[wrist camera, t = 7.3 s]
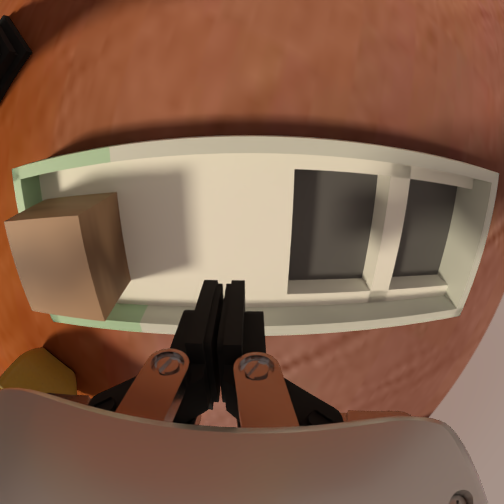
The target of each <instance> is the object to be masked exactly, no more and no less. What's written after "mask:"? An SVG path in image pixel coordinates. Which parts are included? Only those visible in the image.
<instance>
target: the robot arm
mask: <svg viewBox="0 0 504 504" xmlns="http://www.w3.org/2000/svg"><path fill="white" fill-rule="evenodd" d="M220 386H221V392H222V400H223V402H226V410H227V411H228V412H229V413H230V414H232V415H233V416H234V417H235V418H236V419H237V427H238V428H236V427H215V426H201V425H199V424H200V421H201V414H202V413H204V412H205V411H207V410H208V409H211V410H213V403H214V402H219V395H220ZM0 504H488V501H487V498H486V495H485V492H484V489H483V486H482V483H481V480H480V478H479V475H478V473H477V471H476V469H475V466H474V464H473V462H472V460H471V457H470V455H469V453H468V451H467V450H466V448H465V446H464V444H463V443H462V441H461V440H460V438H459V437H458V435H457V434H456V433H455V432H454V430H453V429H452V428H451V427H450V426H448V425H447V424H446V423H444V422H441V421H439V420H436V419H432V418H427V417H416V416H411V415H410V414H408V413H406V412H402V411H354V410H348V412H347V413H340V412H339V411H338V410H336V409H335V408H334V407H332V406H330V405H329V404H327V403H325V402H323V401H322V400H320V399H318V398H316V397H315V396H313V395H311V394H310V393H308V392H306V391H305V390H303V389H301V388H300V387H298V386H296V385H295V384H293V383H292V382H290V381H288V380H287V379H285V378H284V377H283V374H282V371H281V368H280V365H279V363H278V361H277V360H276V359H275V358H274V357H273V356H271V355H269V354H267V353H266V345H265V328H264V312H263V311H245V280H232V281H231V284H226V289H225V295H223V284H221V283H218V280H204V282H203V285H202V288H201V291H200V294H199V297H198V301H197V304H196V307H195V310H184V311H183V314H182V316H181V319H180V322H179V325H178V327H177V330H176V333H175V336H174V339H173V341H172V344H171V347H170V348H168V349H162V350H159V351H156V352H155V353H153V354H152V355H151V356H150V357H149V358H148V359H147V361H146V362H145V364H144V366H143V367H142V369H141V370H140V372H139V374H138V375H137V376H136V377H134V378H132V379H130V380H128V381H125V382H123V383H121V384H119V385H117V386H115V387H112V388H110V389H108V390H106V391H104V392H101V393H99V394H97V395H96V396H94V397H93V398H92V399H90V397H89V396H87V395H70V394H57V393H43V392H39V391H35V390H30V389H22V388H5V389H1V390H0Z"/></svg>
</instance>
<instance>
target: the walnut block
mask: <svg viewBox="0 0 504 504" xmlns="http://www.w3.org/2000/svg"><path fill="white" fill-rule="evenodd" d="M4 224H5V228H6V232H7V237H8V240H9V244H10V248H11V252H12V255H13V258H14V262H15V265H16V268H17V271H18V274H19V277H20V280H21V283H22V286H23V288H24V291H25V294H26V296H27V299H28V301H29V304H30V306H31V309H32V311H36V312H42V313H48V314H54V315H60V316H67V317H73V318H81V319H88V320H96V321H106V319H107V317H108V316H109V314H110V312H111V311H112V309H113V308H114V306H115V304H116V303H117V301H118V300H119V298H120V296H121V295H122V293H123V292H124V290H125V289H126V287H127V286H128V284H129V283H130V281H131V278H130V273H129V268H128V263H127V257H126V252H125V246H124V240H123V234H122V228H121V221H120V213H119V205H118V197H117V192H110V193H98V194H87V195H77V196H68V197H59V198H51V199H45V200H43V201H41V202H39V203H37V204H35V205H34V206H32V207H30V208H28V209H26V210H24V211H22V212H20V213H19V214H17V215H15V216H13V217H11V218H10V219H8V220H6V221H5V222H4Z"/></svg>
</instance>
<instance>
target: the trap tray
mask: <svg viewBox="0 0 504 504" xmlns="http://www.w3.org/2000/svg"><path fill="white" fill-rule="evenodd" d="M12 175H13V183H14V189H15V196H16V202H17V207H18V212H19V213H20V212H22V211H24V210H26V209H28V208H30V207H32V206H34V205H35V204H37V203H39V202H41V201H43V200H45V199H51V198H59V197H68V196H77V195H87V194H98V193H110V192H117V197H118V205H119V213H120V221H121V228H122V234H123V240H124V246H125V252H126V257H127V263H128V268H129V273H130V278H131V281H130V283H129V284H128V286H127V287H126V289H125V290H124V292H123V293H122V295H121V296H120V298H119V300H118V301H117V303H116V304H115V306H114V308H113V309H112V311H111V312H110V314H109V316H108V317H107V319H106V321H96V320H88V319H81V318H73V317H67V316H60V315H54V314H50V315H51V318H52V320H53V321H54V322H60V323H66V324H73V325H80V326H88V327H96V328H104V329H113V330H123V331H134V332H146V333H160V334H175V333H176V330H177V327H178V325H179V322H180V319H181V316H182V314H183V311H184V310H195V307H196V304H197V301H198V297H199V294H200V291H201V288H202V285H203V282H204V280H218V283H221V284H223V295H225V289H226V284H231V281H232V280H245V311H263V312H264V328H265V336H276V335H302V334H319V333H334V332H346V331H357V330H367V329H376V328H385V327H393V326H401V325H408V324H415V323H421V322H428V321H434V320H439V319H445V318H451V317H456V316H460V314H461V311H462V309H463V307H464V304H465V302H466V299H467V297H468V294H469V292H470V289H471V286H472V283H473V281H474V278H475V275H476V272H477V269H478V266H479V263H480V260H481V256H482V253H483V250H484V246H485V243H486V239H487V235H488V231H489V227H490V223H491V218H492V214H493V209H494V203H495V198H496V192H497V186H498V179H499V173H496V172H494V171H491V170H488V169H485V168H482V167H479V166H475V165H472V164H469V163H465V162H462V161H458V160H454V159H450V158H446V157H442V156H437V155H433V154H428V153H424V152H419V151H414V150H408V149H403V148H397V147H391V146H385V145H378V144H371V143H364V142H356V141H347V140H338V139H327V138H315V137H299V136H276V135H220V136H197V137H181V138H169V139H158V140H149V141H140V142H132V143H125V144H118V145H111V146H105V147H99V148H94V149H88V150H83V151H78V152H73V153H68V154H64V155H59V156H55V157H51V158H47V159H43V160H40V161H36V162H33V163H29V164H26V165H23V166H20V167H17V168H14V169H12Z"/></svg>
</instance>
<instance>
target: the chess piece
mask: <svg viewBox="0 0 504 504" xmlns="http://www.w3.org/2000/svg"><path fill="white" fill-rule="evenodd" d="M31 54H32V51H31V50H30V48H29V47H28V45H27V44H26V42H25V41H24V39H23V38H22V36H21V35H20V33H19V32H18V30H17V29H16V27H15V26H14V24H13V22H12V21H11V19H10V18H9V16H5V15H3V16H2V18H1V19H0V102H1V100H2V98H3V96H4V95H5V93H6V91H7V90H8V88H9V86H10V85H11V83H12V82H13V80H14V78H15V77H16V75H17V74H18V72H19V71H20V69H21V68H22V66H23V65H24V63H25V62H26V61H27V59H28V58H29V57H30V55H31Z"/></svg>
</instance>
